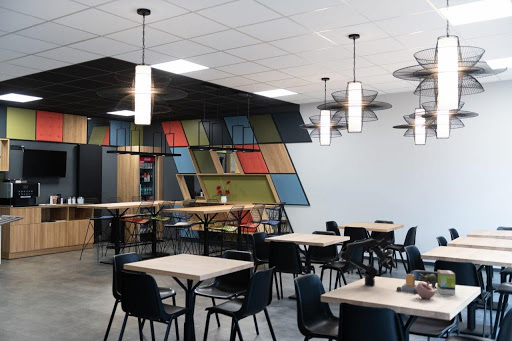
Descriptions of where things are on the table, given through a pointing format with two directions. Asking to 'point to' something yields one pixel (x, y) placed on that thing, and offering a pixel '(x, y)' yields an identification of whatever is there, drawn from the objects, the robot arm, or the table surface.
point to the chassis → (407, 289)
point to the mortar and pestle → (425, 290)
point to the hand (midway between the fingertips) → (393, 268)
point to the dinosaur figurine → (429, 279)
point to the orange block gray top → (410, 280)
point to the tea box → (446, 282)
